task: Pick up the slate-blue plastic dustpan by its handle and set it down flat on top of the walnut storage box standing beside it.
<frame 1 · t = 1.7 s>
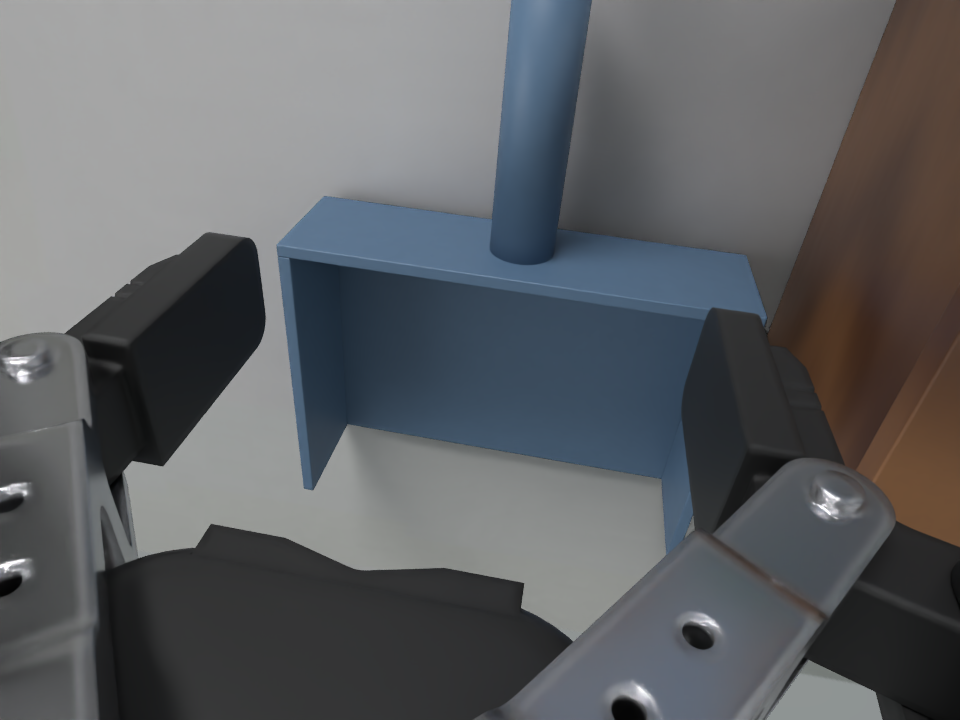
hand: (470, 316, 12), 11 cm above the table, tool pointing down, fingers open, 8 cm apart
dustpan: (513, 349, 26), on the table
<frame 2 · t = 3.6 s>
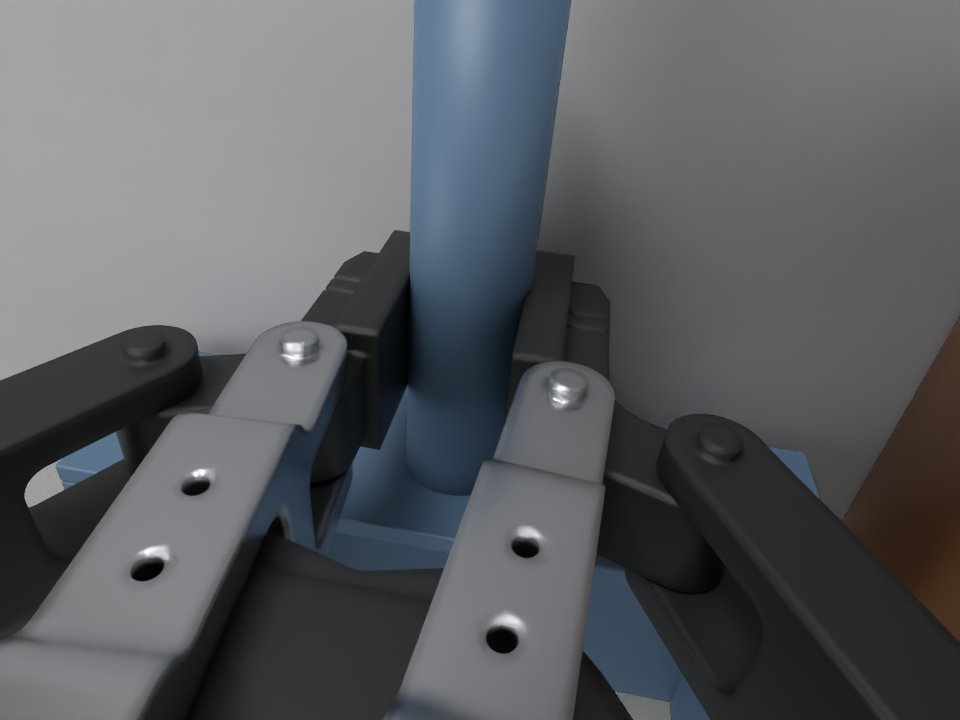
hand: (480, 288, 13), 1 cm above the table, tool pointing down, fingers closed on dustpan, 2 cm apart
dustpan: (462, 542, 18), on the table, touching gripper
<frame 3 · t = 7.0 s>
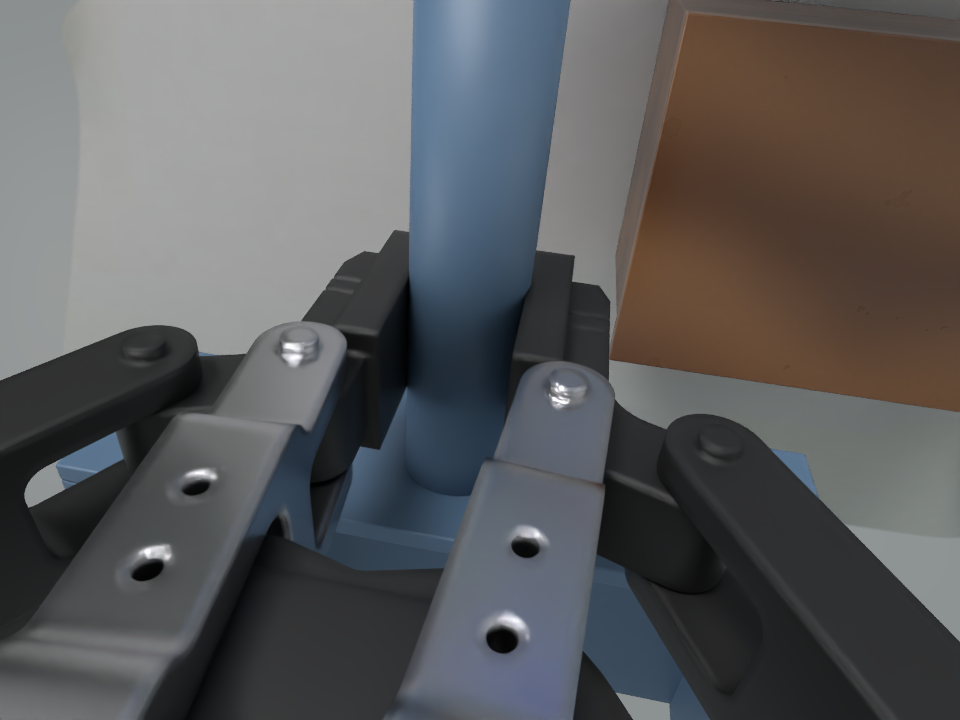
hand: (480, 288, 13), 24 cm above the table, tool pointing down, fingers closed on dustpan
storage box: (788, 155, 33), on the table
dustpan: (462, 543, 18), point 23 cm above the table, touching gripper
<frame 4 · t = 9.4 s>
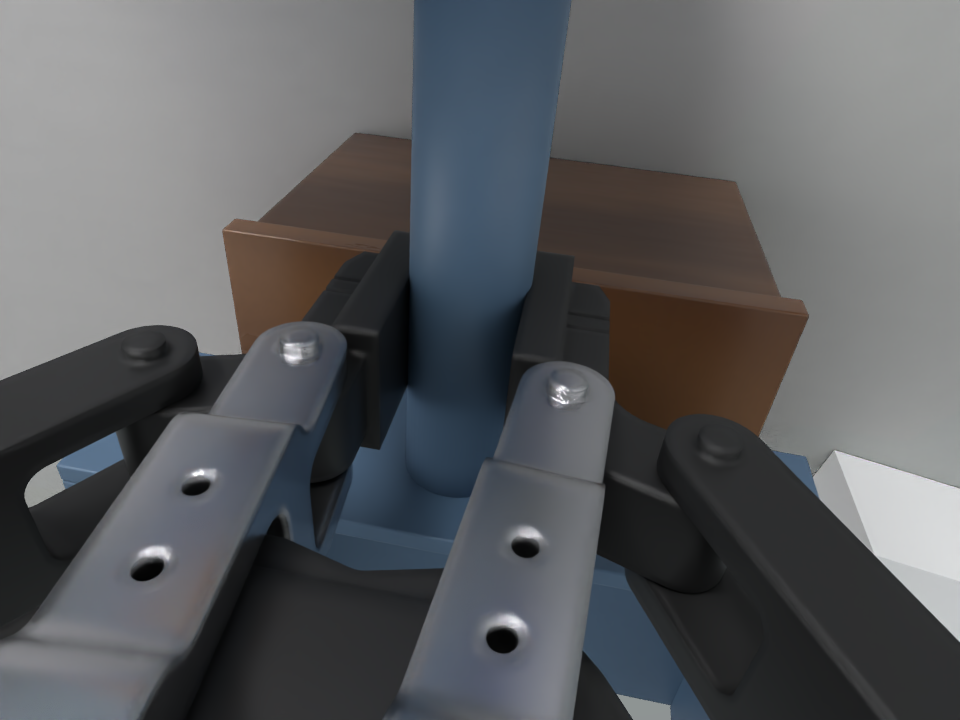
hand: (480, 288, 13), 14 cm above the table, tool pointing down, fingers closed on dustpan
storage box: (521, 305, 29), on the table
dustpan: (463, 544, 18), point 13 cm above the table, touching gripper
white cube: (858, 508, 32), on the table
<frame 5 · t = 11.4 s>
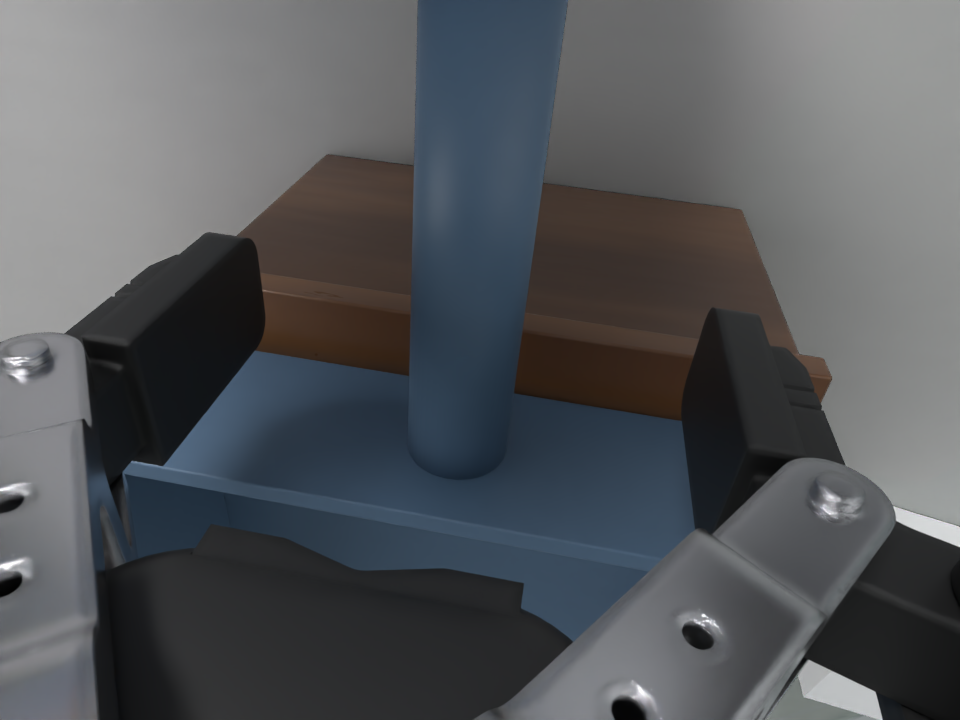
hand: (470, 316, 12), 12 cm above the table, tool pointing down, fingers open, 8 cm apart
storage box: (509, 338, 27), on the table
dustpan: (462, 530, 19), point 10 cm above the table, touching storage box
white cube: (870, 551, 30), on the table
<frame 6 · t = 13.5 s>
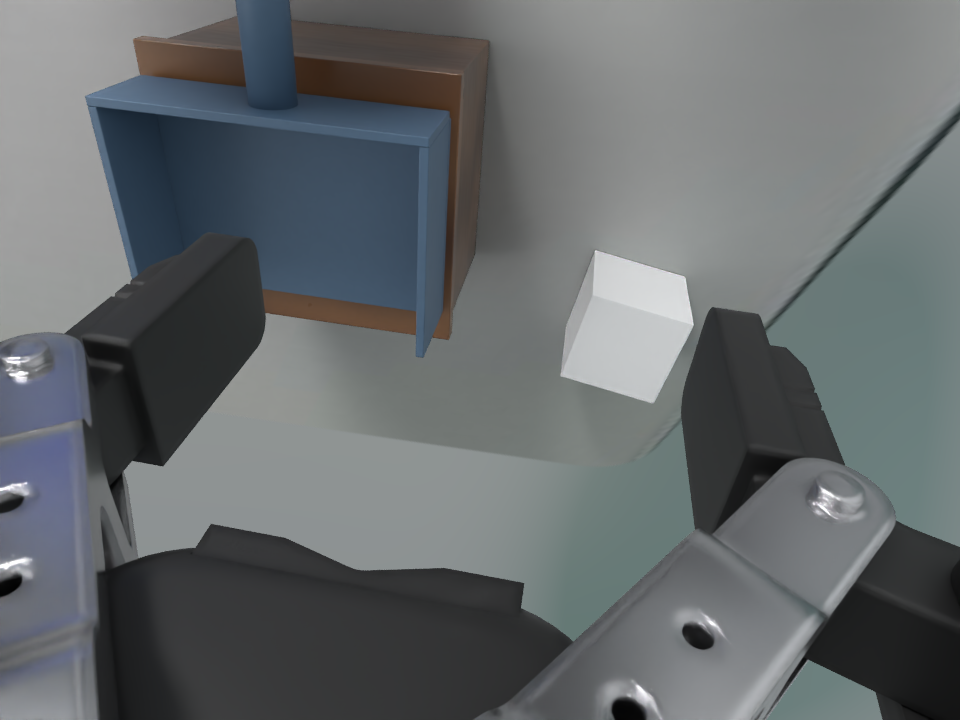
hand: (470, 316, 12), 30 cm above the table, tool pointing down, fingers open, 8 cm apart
storage box: (366, 143, 41), on the table
dustpan: (305, 204, 33), point 10 cm above the table, touching storage box
white cube: (623, 300, 45), on the table
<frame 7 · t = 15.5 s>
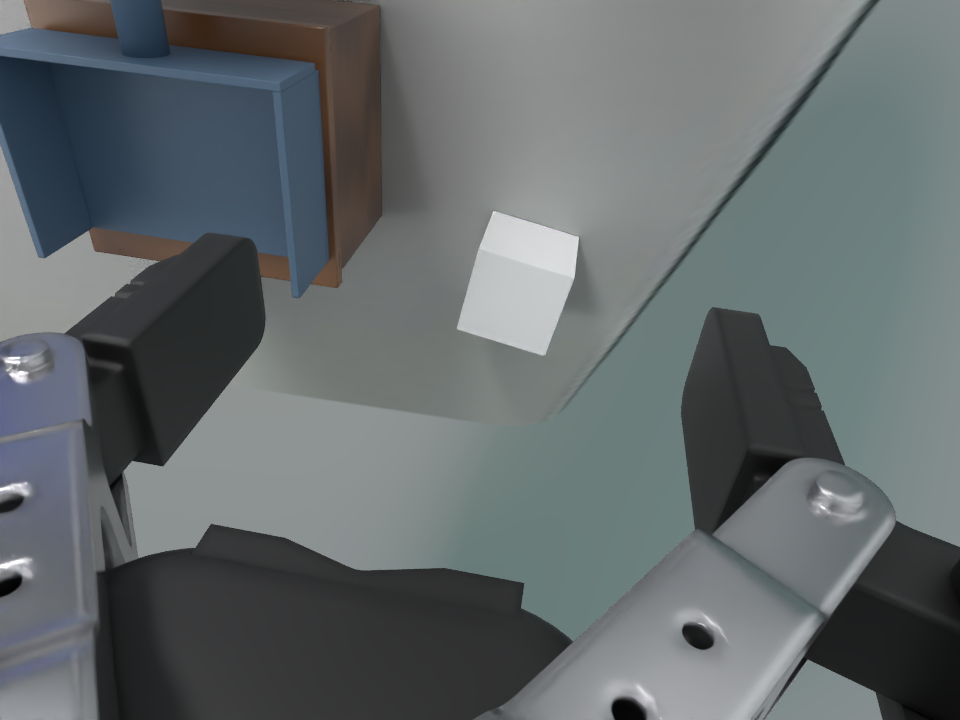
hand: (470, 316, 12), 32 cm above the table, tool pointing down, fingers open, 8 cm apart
storage box: (273, 105, 43), on the table
dustpan: (193, 154, 35), point 10 cm above the table, touching storage box
white cube: (524, 260, 47), on the table
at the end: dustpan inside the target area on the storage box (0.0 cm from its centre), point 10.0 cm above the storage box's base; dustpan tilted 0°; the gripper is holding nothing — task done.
